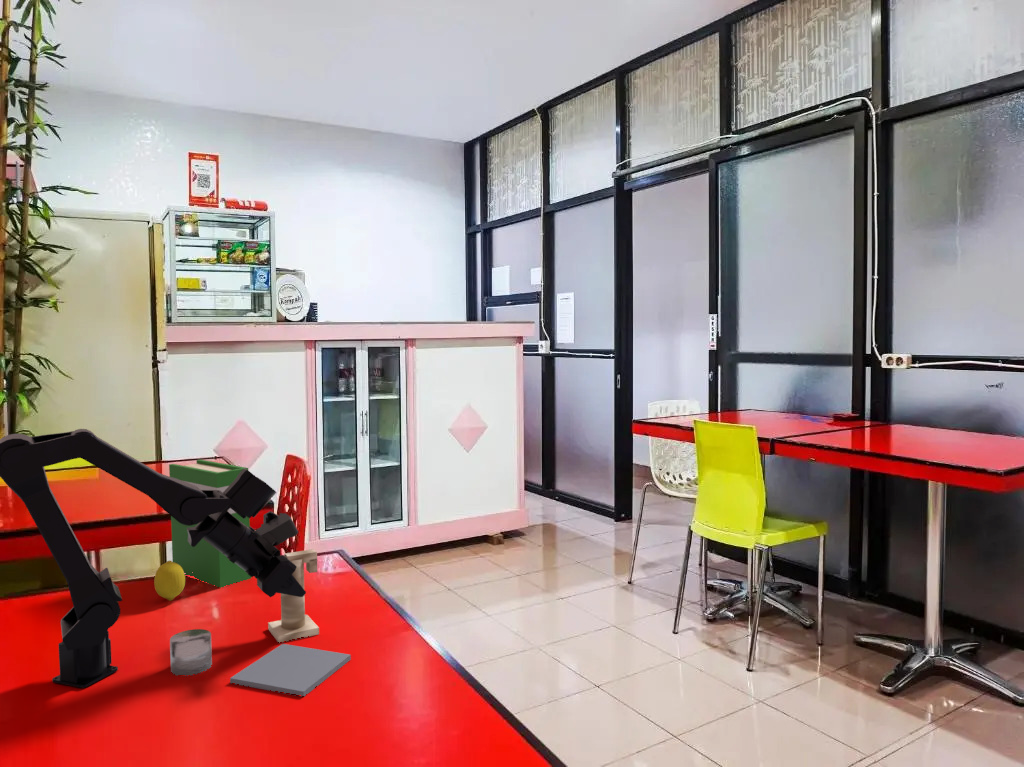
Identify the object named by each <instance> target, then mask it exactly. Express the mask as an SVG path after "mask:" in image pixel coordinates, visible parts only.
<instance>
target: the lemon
mask: <svg viewBox="0 0 1024 767" xmlns="http://www.w3.org/2000/svg"><path fill="white" fill-rule="evenodd" d="M153 581H154V582H153V583H154V584H153V585H154V589H155V592H156V593H157V594H158V596H160V597H162V598H163V599H166V600H168V601H170V602H171V601H173V600H174V599H175V598H176V597H177V596H179V595H180V594H181V593H182V592H183V590H184V588H185V585H186V576H185V574H184V571H183V569H182V567H181V566H180V565H179V564H177V563H175V562H173V560H168V561H166V562H165V563H163V564H161V565H160V566H159V567H158V568H157V570H156V571H155V575H154V580H153Z"/></svg>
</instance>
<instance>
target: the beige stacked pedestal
mask: <svg viewBox="0 0 1024 767" xmlns="http://www.w3.org/2000/svg"><path fill="white" fill-rule="evenodd" d="M283 555H284V556H285V557H286V558H288V559H289V560H290V561H291V562H292V563H294V564H295V565H296V566H297V567H296V570H295V571H294V572H293V574H292V575H293V576H294V578H295V579H296V580H297V581H298V583H299V584H300V585H301V586H302V588H303V589H304V590H305V569H306V572H308V573H309V574H311V573H317V572H318V551H317V550H316V549H314V548H312V549H306V550H299V551H294V552H287V553H284V554H283ZM305 603H306V602H305V595H304V596H303V597H298V596H292V595H287V594H281V593H280V617H281V618H280V619H279V620H274V621H270V622H269V621H268V622H267V624H268V626H267V627H268V631H269V633H271V635H272V636H273V637H274V639H275V640H276V642H277V643H278V642H279V643H278V644H281V643H280V642H282V643H285V642H284V641H286V642H290V641H289V640H291V641H293V640H292V639H295V640H298V639H297V638H300V639H302V638H301V637H304V638H308V636H309V637H313V636H316V635H320V627H319V626H318V625H317V624H316V623H315V622H314V620H312V618H311V617H310V616H309V615H308V614H306V608H305V606H306V604H305Z"/></svg>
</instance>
